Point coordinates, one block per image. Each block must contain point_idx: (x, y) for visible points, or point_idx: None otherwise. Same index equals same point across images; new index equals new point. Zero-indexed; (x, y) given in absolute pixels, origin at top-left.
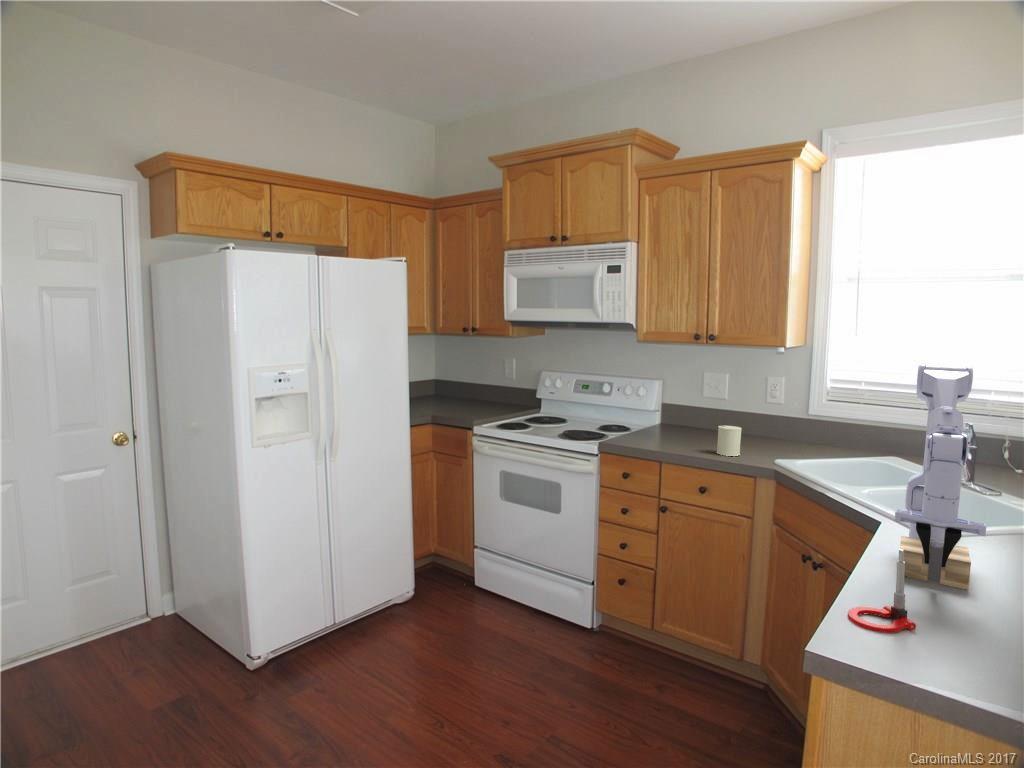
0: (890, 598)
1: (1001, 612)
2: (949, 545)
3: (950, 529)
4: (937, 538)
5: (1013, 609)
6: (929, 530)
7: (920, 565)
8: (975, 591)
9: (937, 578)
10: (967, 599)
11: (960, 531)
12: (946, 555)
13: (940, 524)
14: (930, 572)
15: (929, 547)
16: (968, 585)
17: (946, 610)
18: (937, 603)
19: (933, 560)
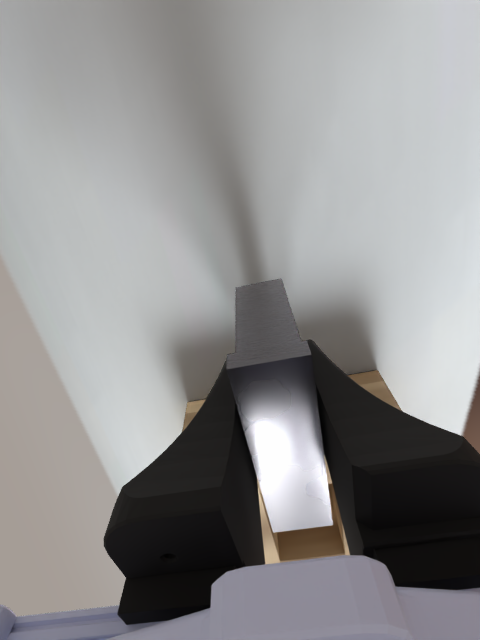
0: (390, 70)
1: (56, 289)
2: (202, 435)
3: (207, 593)
4: (298, 525)
5: (49, 344)
6: (371, 505)
7: None
8: (170, 404)
9: (246, 293)
10: (164, 323)
11: (128, 597)
12: (221, 388)
13: (283, 599)
14: (277, 297)
15: (320, 539)
16: (186, 412)
17: (178, 134)
18: (223, 192)
19: (276, 331)
